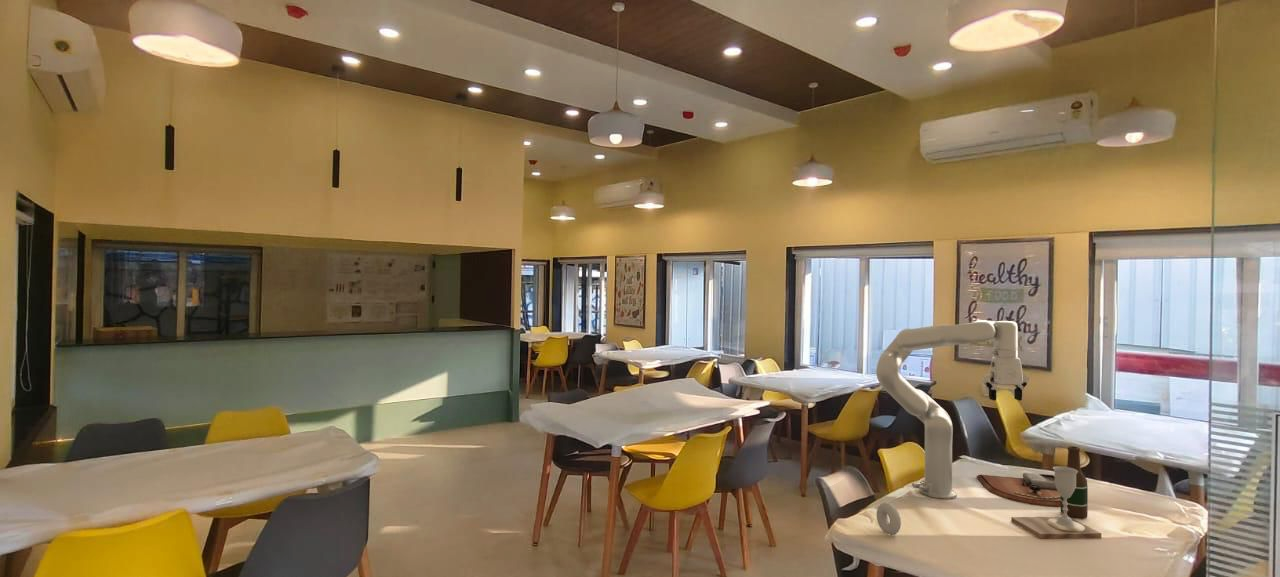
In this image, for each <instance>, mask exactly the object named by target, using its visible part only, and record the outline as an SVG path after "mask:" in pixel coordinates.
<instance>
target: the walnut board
mask: <svg viewBox="0 0 1280 577" xmlns="http://www.w3.org/2000/svg"><path fill="white" fill-rule="evenodd" d="M1058 517H1059V516H1014V517H1013V516H1011V518H1010V519H1011V520H1010V522H1011V523H1013V524H1014V525H1016V526H1019V527H1020V528H1021V527H1022V528H1021V529H1023V530H1024V531H1027V532H1029V533H1030V534H1032V535H1034V536H1035V537H1037V538H1039V539H1041V540H1042V539H1045V540H1046V539H1047V540H1048V539H1049V540H1050V539H1053V540H1054V539H1066V540H1067V539H1102V532H1099V531H1097V530H1096V529H1093V528H1091V527H1090V526H1088V525H1086V524H1084V523H1081V522H1079V521H1078V520H1077V519H1076V520H1075V518H1071V519H1072V521H1073V524H1074V525H1075V526H1074V527H1065V526H1061V525H1058V524H1057V523H1056V521H1057V519H1058Z"/></svg>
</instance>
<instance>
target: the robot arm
mask: <svg viewBox="0 0 1280 577" xmlns="http://www.w3.org/2000/svg"><path fill="white" fill-rule="evenodd" d="M992 339H993V350H991V351H990V353H991V355H992V357H991V358H992V359H991V362H990V368H989V373H987V374H986V375H984V376H982V377H981V379H982V381H983V385H985V387H986V388H987V389H988V399H989V400H991V401H994V402H997V389H996V388H997V387H999V386H1014V387H1015V388H1014V391H1013V392H1014V394H1013V396H1014V400H1016V401H1022V400H1023V391H1024V389H1025V387H1026V386H1027V385H1028V382H1029V380H1030V377H1028V376H1027V375H1024V374H1023V368H1022V367H1023V366H1022V363H1021V359H1020V358H1019V357H1018V346H1019V344H1018V323H1017V322H1016V321H1011V320H1010V321H1009V320H997V321H994V320H986V319H977V320H975V321H973V322H968V323H962V324H961V323H959V324H937V325H935V324H934V325H930V326H924V327H915V328H904V329H902V330H901V331H899V332H898V334H897V335H896V337H895V338H894V339H893V340H892V342H890V344H889V345H888V346H887V347H886V349H885V350H884V351H883V352H882V353H881V354H880V356H879V358H878V361H877V365H876V371H875V372H876V373H875V374H876V378H877V380H878V383H879V384H880V386H881V387H882V388H883V390H885V391H886V392H887V393H888V394H889V395H890V396H891V397H892V399H894V400H895V401H896V402H897V403H898V404H899V406H901V407H902V408H903V409H904V410H905V412H907V413H908V414H910V415H912V416H915V417H916V418H917V419H919V421H921V422H922V423H923V424H924V479H922V480H921V481H920V482H912V483H911V486H912V488H913V489H919V491H920V492H921V494H923V493H924V494H923V495H925V496H927V495H928V497H932V498H936V499H946V500H948V499H954V498H956V497H957V495H958V494H957V491H955V490H953V435H954V434H953V432H954V427H953V426H954V425H953V422H952V419H951V416H950V415H949V414H948V412H947V410H945V409H944V408H943V407H941V405H940V404H938V403H937V402H936V401H935V400H934V399H933V398H932V397H931V396H929V395H928V394H927V393H926V392H925V391H923V390H921V389H919V388H915V387H914V386H912V385H911V384H910V382H908V381H907V380H906V379H905V378H904V377H903V376H902V375H901V373H900V369H901V367H902V365H903V363H904V362H905V361H906V360H907V359H908V358H909V356H910V355H911V353H913V351H921V350H926V349H927V350H928V349H935V348H942V347H943V348H944V347H951V346H958V345H967V344H974V343H983V342H989V341H991V340H992Z"/></svg>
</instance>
